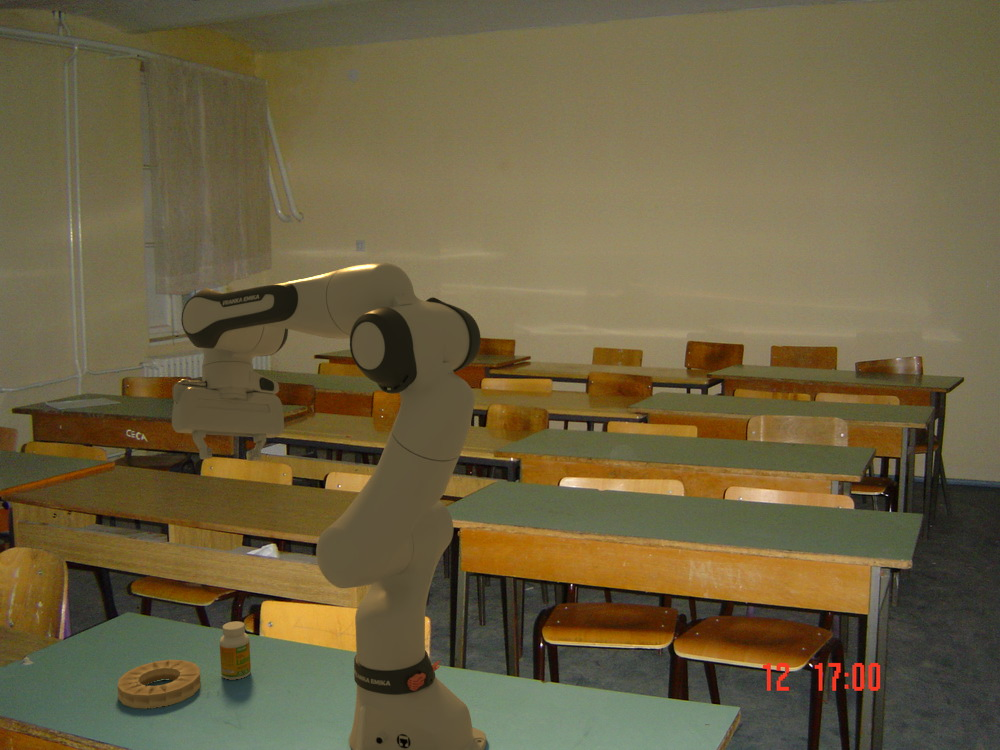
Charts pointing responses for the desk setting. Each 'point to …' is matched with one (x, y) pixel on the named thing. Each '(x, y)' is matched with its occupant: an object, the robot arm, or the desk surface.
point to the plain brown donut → (162, 695)
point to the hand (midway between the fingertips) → (231, 459)
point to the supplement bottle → (235, 651)
